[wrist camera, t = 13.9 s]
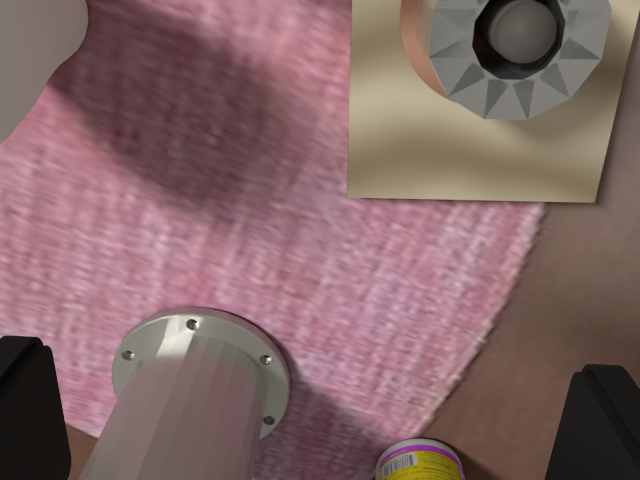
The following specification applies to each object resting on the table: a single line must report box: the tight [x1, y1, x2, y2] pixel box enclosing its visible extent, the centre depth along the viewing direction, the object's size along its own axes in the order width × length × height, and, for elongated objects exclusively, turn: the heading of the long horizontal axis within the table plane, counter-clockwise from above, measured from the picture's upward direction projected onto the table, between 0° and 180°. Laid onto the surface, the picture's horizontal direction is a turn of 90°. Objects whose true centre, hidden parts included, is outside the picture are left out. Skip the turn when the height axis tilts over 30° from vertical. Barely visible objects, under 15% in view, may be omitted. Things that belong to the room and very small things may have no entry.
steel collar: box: [416, 0, 612, 120], centre depth 27 cm, size 7×7×6 cm
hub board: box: [347, 0, 640, 203], centre depth 28 cm, size 16×14×9 cm
